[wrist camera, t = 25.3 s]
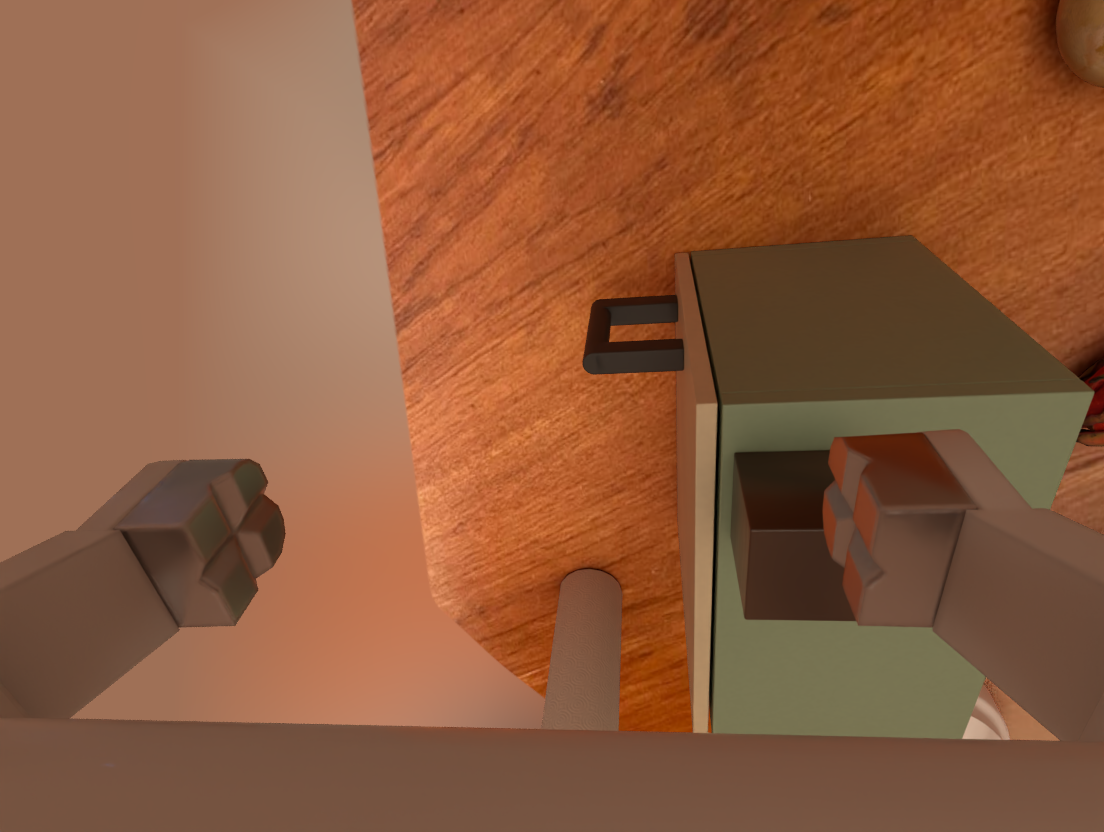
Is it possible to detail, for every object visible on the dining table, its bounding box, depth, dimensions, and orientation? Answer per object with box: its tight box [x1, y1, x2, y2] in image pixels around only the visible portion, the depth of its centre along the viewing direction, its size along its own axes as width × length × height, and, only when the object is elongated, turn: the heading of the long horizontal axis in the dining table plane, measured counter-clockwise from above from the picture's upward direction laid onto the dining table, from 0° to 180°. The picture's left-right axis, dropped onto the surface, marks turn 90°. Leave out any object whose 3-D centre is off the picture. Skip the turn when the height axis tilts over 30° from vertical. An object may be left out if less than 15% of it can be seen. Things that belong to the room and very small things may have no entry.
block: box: [730, 450, 856, 621], centre depth 27 cm, size 5×5×5 cm
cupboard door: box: [583, 253, 718, 733], centre depth 42 cm, size 7×24×20 cm, turn 6°
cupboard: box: [691, 235, 1094, 739], centre depth 41 cm, size 14×24×20 cm, turn 6°
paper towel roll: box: [541, 569, 622, 731], centre depth 54 cm, size 7×6×21 cm
